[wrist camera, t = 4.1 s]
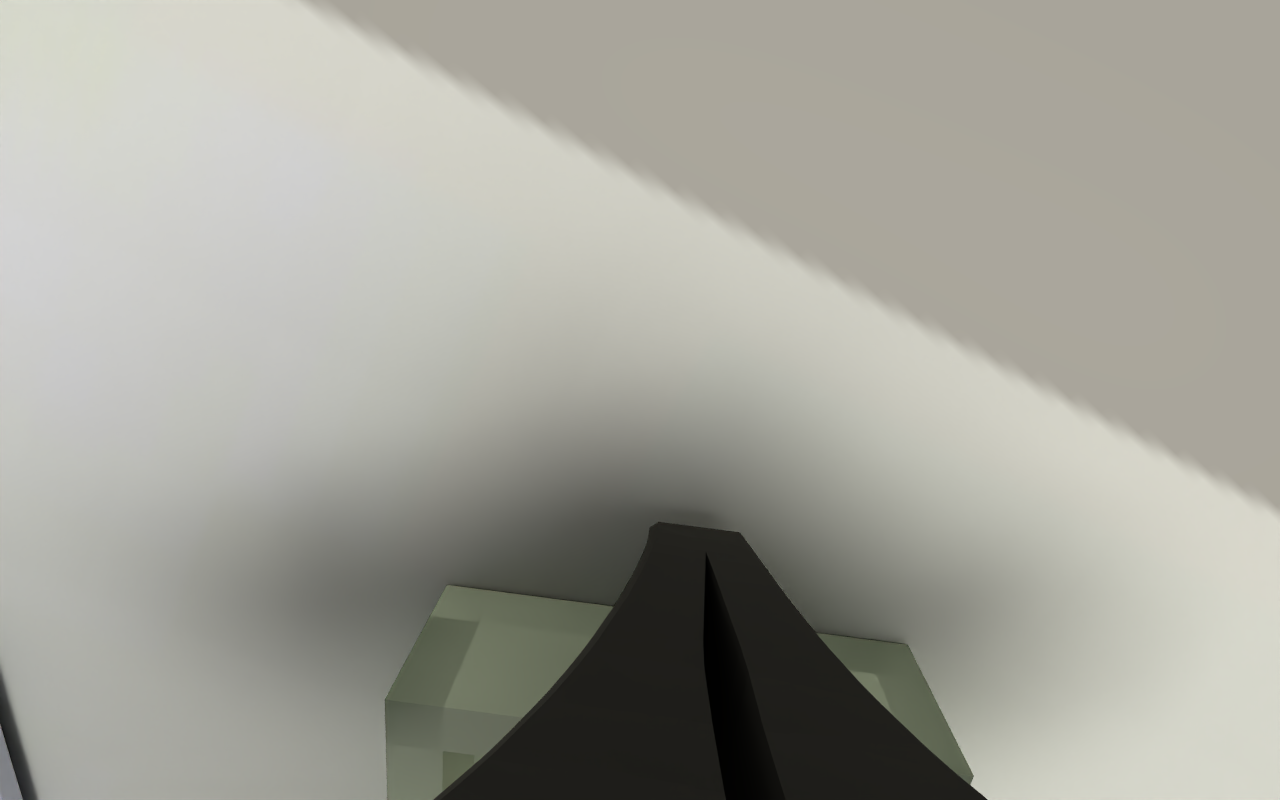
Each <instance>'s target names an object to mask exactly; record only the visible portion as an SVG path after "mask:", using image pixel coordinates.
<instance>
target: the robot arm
mask: <svg viewBox="0 0 1280 800" xmlns="http://www.w3.org/2000/svg"><path fill="white" fill-rule="evenodd" d="M0 800H23V798H22V795H21V792H20V788H19V785H18V782H17V778H16V775H15V772H14V768H13V765H12V762H11V758H10V755H9V752H8V748H7V745H6V742H5V738H4V735H3V732H2V729H1V725H0ZM433 800H987V799H986V798H985V797H984V796H983V795H981V794H980V793H979V792H978V791H977V790H975V789H974V788H973V787H972V786H971V785H969V784H968V783H967V782H966V781H965V780H963V779H962V778H961V777H960V776H959V775H957V774H956V773H955V772H954V771H953V770H952V769H950V768H949V767H948V766H947V765H946V764H945V763H944V762H943V761H941V760H940V759H939V758H938V757H937V756H936V755H935V754H934V753H932V752H931V751H930V750H929V749H928V748H927V747H926V746H925V745H924V744H923V743H921V742H920V741H919V740H918V739H917V738H916V737H915V736H914V735H913V734H912V733H911V732H910V731H909V730H908V729H907V728H906V727H905V726H904V725H903V724H902V723H901V722H899V721H898V720H897V719H896V718H895V717H894V716H893V715H892V714H891V713H890V712H889V711H888V710H887V709H886V708H885V707H884V706H883V705H882V704H881V703H880V702H879V701H878V700H877V699H876V698H875V697H874V696H873V695H872V694H871V693H870V692H869V691H868V690H867V689H866V688H865V687H864V686H863V685H862V684H861V683H860V682H859V681H858V680H857V679H856V677H855V676H854V675H853V674H852V673H851V672H850V671H849V670H848V669H847V668H846V666H845V665H844V664H843V663H842V662H841V661H840V660H839V659H838V658H837V656H836V655H835V654H834V653H833V652H832V651H831V650H830V649H829V648H828V646H827V645H826V644H825V643H824V642H823V641H822V639H821V638H820V637H819V636H818V635H817V634H816V632H815V631H814V630H813V629H812V628H811V626H810V625H809V624H808V623H807V621H806V620H805V619H804V618H803V616H802V615H801V614H800V613H799V611H798V610H797V609H796V608H795V606H794V605H793V604H792V603H791V601H790V600H789V599H788V597H787V596H786V595H785V593H784V592H783V591H782V589H781V588H780V587H779V585H778V584H777V583H776V581H775V580H774V579H773V577H772V576H771V575H770V573H769V572H768V570H767V569H766V568H765V566H764V565H763V563H762V562H761V561H760V559H759V558H758V557H757V555H756V554H755V552H754V551H753V550H752V548H751V547H750V545H749V544H748V543H747V541H746V540H745V539H744V537H743V536H742V535H741V533H739V532H731V531H724V530H716V529H708V528H701V527H693V526H685V525H678V524H670V523H662V522H658V523H656V524H655V525H653V526H652V527H650V530H649V536H648V541H647V544H646V547H645V550H644V552H643V554H642V557H641V559H640V561H639V563H638V565H637V567H636V569H635V571H634V573H633V575H632V576H631V578H630V580H629V582H628V583H627V585H626V587H625V589H624V590H623V592H622V594H621V595H620V597H619V599H618V601H617V602H616V604H615V605H614V607H613V608H612V610H611V611H610V613H609V614H608V615H607V617H606V618H605V620H604V621H603V623H602V624H601V625H600V627H599V628H598V630H597V631H596V633H595V634H594V635H593V637H592V638H591V640H590V641H589V642H588V644H587V645H586V646H585V648H584V649H583V650H582V651H581V653H580V654H579V655H578V657H577V658H576V659H575V660H574V662H573V663H572V664H571V665H570V666H569V668H568V669H567V670H566V671H565V672H564V674H563V675H562V676H561V677H560V678H559V679H558V680H557V682H556V683H555V684H554V685H553V686H552V687H551V688H550V690H549V691H548V692H547V693H546V694H545V695H544V696H543V697H542V698H541V699H540V700H539V701H538V702H537V704H536V705H535V706H534V707H533V708H532V709H531V710H530V711H529V712H528V713H527V714H526V715H525V716H524V717H523V718H522V719H521V720H520V721H519V722H518V723H517V724H516V725H515V726H514V727H513V728H512V729H511V730H510V731H509V732H508V733H507V734H506V735H505V736H504V737H503V738H502V739H501V740H500V741H499V742H498V743H497V744H496V745H495V746H494V747H493V748H492V749H491V750H490V751H489V752H487V753H486V754H485V755H484V756H483V757H482V758H481V759H480V760H479V761H478V762H476V763H475V764H474V765H473V766H472V767H471V768H469V769H468V770H467V771H466V772H465V773H464V774H462V775H461V776H460V777H459V778H458V779H457V780H455V781H454V782H453V783H452V784H451V785H450V786H448V787H447V788H446V789H445V790H444V791H443V792H441V793H440V794H439V795H438V796H437V797H436V798H435V799H433Z"/></svg>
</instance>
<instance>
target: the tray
mask: <svg viewBox="0 0 1280 800" xmlns="http://www.w3.org/2000/svg"><path fill="white" fill-rule="evenodd" d="M612 608H613V606H605V605H597V604H590V603H582V602H574V601H567V600H559V599H551V598H543V597H536V596H528V595H520V594H513V593H505V592H497V591H489V590H482V589H474V588H466V587H459V586H451V585H447V586H446V588H445V590H444V591H443V593H442V595H441V597H440V599H439V601H438V602H437V604H436V606H435V608H434V610H433V612H432V613H431V615H430V617H429V619H428V621H427V623H426V625H425V626H424V628H423V630H422V632H421V634H420V636H419V637H418V639H417V641H416V643H415V645H414V647H413V649H412V650H411V652H410V654H409V656H408V658H407V660H406V661H405V663H404V665H403V667H402V669H401V671H400V673H399V674H398V676H397V678H396V680H395V682H394V684H393V685H392V687H391V689H390V691H389V693H388V695H387V696H386V698H385V724H386V762H387V800H433V799H435V798H436V797H437V796H438V795H439V794H440V793H441V792H443V791H444V790H445V789H446V788H447V787H448V786H450V785H451V784H452V783H453V782H454V781H455V780H457V779H458V778H459V777H460V776H461V775H462V774H464V773H465V772H466V771H467V770H468V769H469V768H471V767H472V766H473V765H474V764H475V763H476V762H478V761H479V760H480V759H481V758H482V757H483V756H484V755H485V754H486V753H487V752H489V751H490V750H491V749H492V748H493V747H494V746H495V745H496V744H497V743H498V742H499V741H500V740H501V739H502V738H503V737H504V736H505V735H506V734H507V733H508V732H509V731H510V730H511V729H512V728H513V727H514V726H515V725H516V724H517V723H518V722H519V721H520V720H521V719H522V718H523V717H524V716H525V715H526V714H527V713H528V712H529V711H530V710H531V709H532V708H533V707H534V706H535V705H536V704H537V702H538V701H539V700H540V699H541V698H542V697H543V696H544V695H545V694H546V693H547V692H548V691H549V690H550V688H551V687H552V686H553V685H554V684H555V683H556V682H557V680H558V679H559V678H560V677H561V676H562V675H563V674H564V672H565V671H566V670H567V669H568V668H569V666H570V665H571V664H572V663H573V662H574V660H575V659H576V658H577V657H578V655H579V654H580V653H581V651H582V650H583V649H584V648H585V646H586V645H587V644H588V642H589V641H590V640H591V638H592V637H593V635H594V634H595V633H596V631H597V630H598V628H599V627H600V625H601V624H602V623H603V621H604V620H605V618H606V617H607V615H608V614H609V613H610V611H611V610H612ZM816 634H817V635H818V636H819V637H820V638H821V639H822V641H823V642H824V643H825V644H826V645H827V646H828V648H829V649H830V650H831V651H832V652H833V653H834V654H835V655H836V656H837V658H838V659H839V660H840V661H841V662H842V663H843V664H844V665H845V666H846V668H847V669H848V670H849V671H850V672H851V673H852V674H853V675H854V676H855V677H856V679H857V680H858V681H859V682H860V683H861V684H862V685H863V686H864V687H865V688H866V689H867V690H868V691H869V692H870V693H871V694H872V695H873V696H874V697H875V698H876V699H877V700H878V701H879V702H880V703H881V704H882V705H883V706H884V707H885V708H886V709H887V710H888V711H889V712H890V713H891V714H892V715H893V716H894V717H895V718H896V719H897V720H898V721H899V722H901V723H902V724H903V725H904V726H905V727H906V728H907V729H908V730H909V731H910V732H911V733H912V734H913V735H914V736H915V737H916V738H917V739H918V740H919V741H920V742H921V743H923V744H924V745H925V746H926V747H927V748H928V749H929V750H930V751H931V752H932V753H934V754H935V755H936V756H937V757H938V758H939V759H940V760H941V761H943V762H944V763H945V764H946V765H947V766H948V767H949V768H950V769H952V770H953V771H954V772H955V773H956V774H957V775H959V776H960V777H961V778H962V779H963V780H965V781H966V782H967V783H968V784H969V785H970V784H971V782H972V779H973V777H974V776H973V774H972V772H971V770H970V768H969V766H968V764H967V762H966V760H965V758H964V756H963V754H962V752H961V750H960V748H959V746H958V744H957V742H956V740H955V738H954V736H953V734H952V732H951V730H950V728H949V726H948V724H947V722H946V720H945V718H944V716H943V714H942V712H941V710H940V708H939V706H938V704H937V702H936V700H935V698H934V696H933V694H932V692H931V690H930V688H929V686H928V684H927V682H926V680H925V678H924V676H923V674H922V672H921V670H920V668H919V666H918V664H917V662H916V660H915V658H914V656H913V654H912V652H911V650H910V648H909V646H908V645H906V644H898V643H890V642H883V641H875V640H867V639H859V638H852V637H844V636H836V635H829V634H821V633H816Z"/></svg>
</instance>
